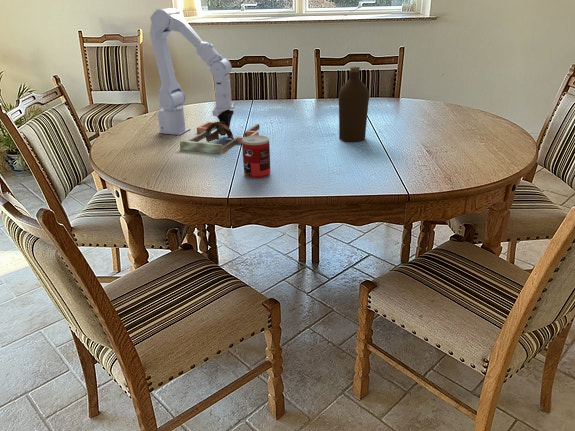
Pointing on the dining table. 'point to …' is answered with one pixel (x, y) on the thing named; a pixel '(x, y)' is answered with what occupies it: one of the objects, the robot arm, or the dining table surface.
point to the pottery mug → (218, 131)
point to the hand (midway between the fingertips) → (225, 130)
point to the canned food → (256, 156)
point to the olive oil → (353, 108)
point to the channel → (209, 147)
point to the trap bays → (205, 125)
